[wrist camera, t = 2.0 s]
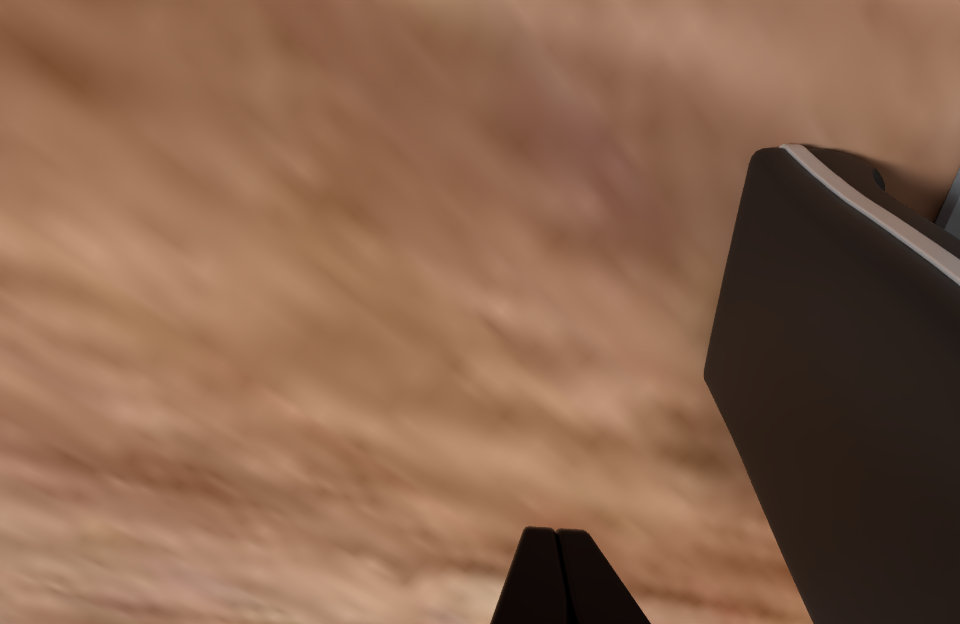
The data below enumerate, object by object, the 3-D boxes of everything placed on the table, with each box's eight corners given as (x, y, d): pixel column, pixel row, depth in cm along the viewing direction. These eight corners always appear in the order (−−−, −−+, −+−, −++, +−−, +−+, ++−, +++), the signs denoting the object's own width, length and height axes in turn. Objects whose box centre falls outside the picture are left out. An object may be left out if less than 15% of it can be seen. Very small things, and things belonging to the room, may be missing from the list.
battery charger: (831, 383, 20) (1178, 865, 10) (694, 381, 20) (910, 865, 10) (914, 134, 16) (1573, 506, 7) (748, 131, 16) (1161, 500, 6)
